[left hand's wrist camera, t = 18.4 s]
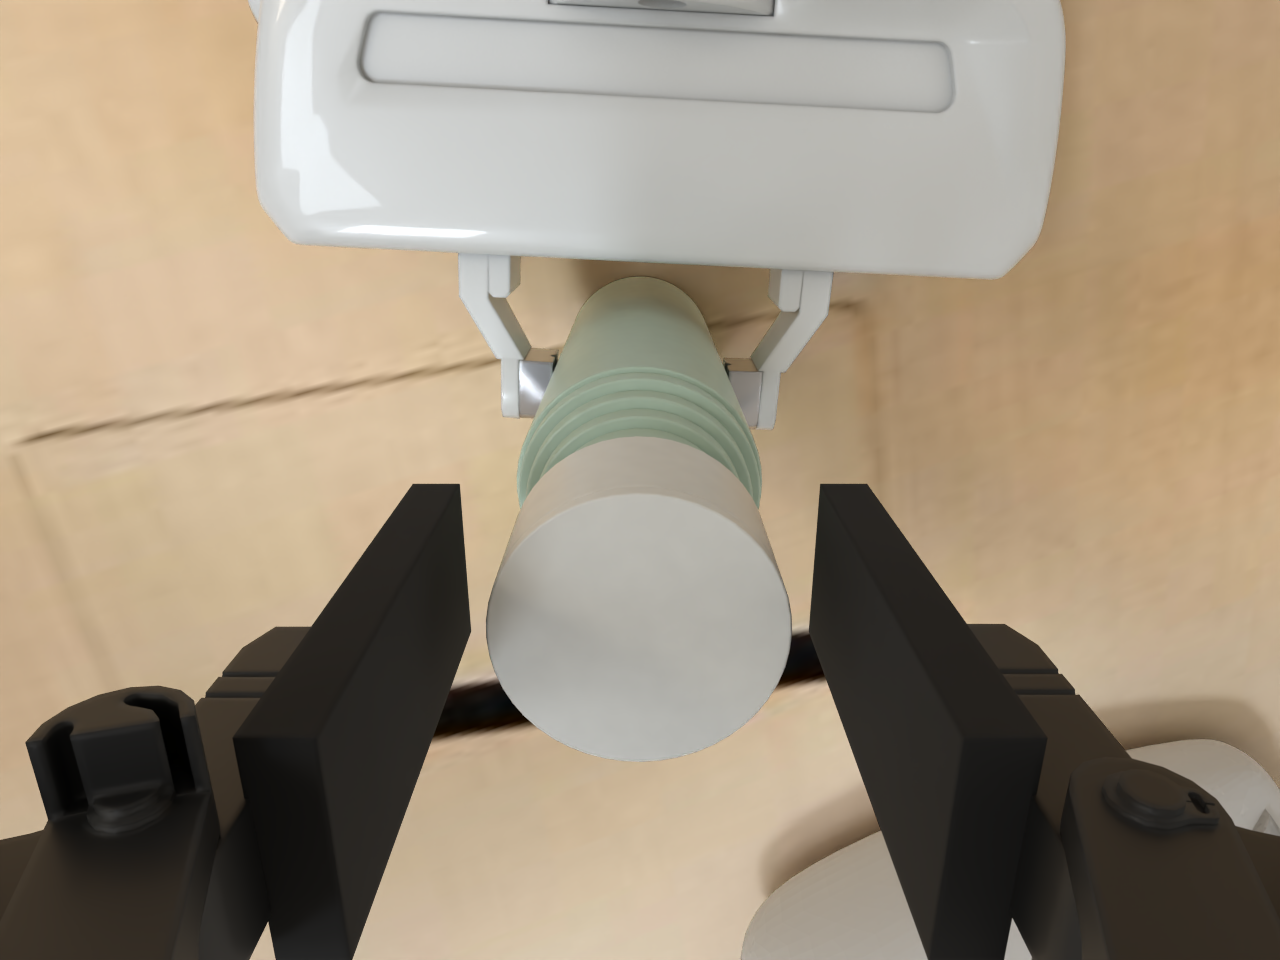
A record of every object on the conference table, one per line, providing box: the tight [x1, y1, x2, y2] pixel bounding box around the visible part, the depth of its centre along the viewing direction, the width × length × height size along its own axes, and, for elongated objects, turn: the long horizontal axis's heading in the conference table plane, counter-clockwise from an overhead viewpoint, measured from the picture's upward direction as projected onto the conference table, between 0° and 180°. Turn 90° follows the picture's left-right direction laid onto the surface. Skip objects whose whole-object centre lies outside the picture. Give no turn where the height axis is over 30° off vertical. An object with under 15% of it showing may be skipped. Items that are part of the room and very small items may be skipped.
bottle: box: [517, 276, 762, 510], centre depth 22 cm, size 5×5×20 cm
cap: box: [486, 436, 792, 762], centre depth 13 cm, size 4×4×3 cm
